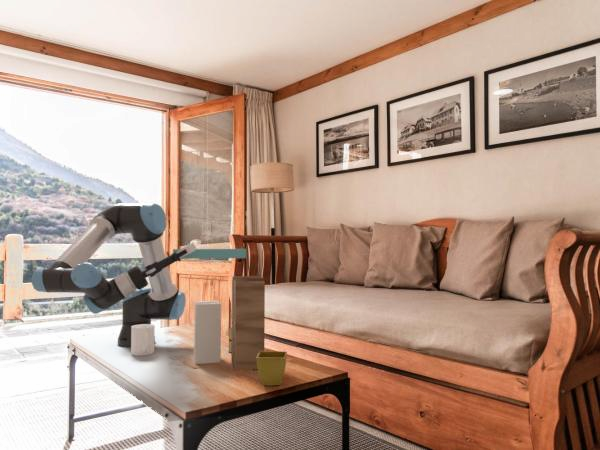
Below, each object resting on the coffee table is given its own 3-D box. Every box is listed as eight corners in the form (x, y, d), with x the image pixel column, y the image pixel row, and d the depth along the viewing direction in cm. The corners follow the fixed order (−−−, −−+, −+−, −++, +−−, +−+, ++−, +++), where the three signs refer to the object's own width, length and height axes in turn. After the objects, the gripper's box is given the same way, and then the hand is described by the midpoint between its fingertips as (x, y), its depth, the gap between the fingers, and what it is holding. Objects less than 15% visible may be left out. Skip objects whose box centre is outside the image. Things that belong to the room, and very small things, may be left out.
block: (172, 258, 161) (173, 249, 161) (244, 257, 168) (244, 248, 168) (173, 258, 158) (173, 249, 158) (246, 258, 165) (246, 248, 165)
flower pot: (259, 379, 148) (259, 350, 148) (286, 379, 148) (287, 351, 148) (255, 388, 139) (256, 357, 140) (285, 388, 139) (285, 357, 139)
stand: (231, 363, 167) (232, 276, 168) (258, 361, 170) (259, 275, 171) (235, 371, 157) (235, 278, 159) (264, 369, 160) (264, 277, 161)
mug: (134, 359, 174) (135, 330, 174) (129, 352, 184) (129, 325, 184) (158, 356, 178) (158, 328, 178) (151, 350, 188) (151, 323, 189)
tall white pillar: (194, 358, 174) (194, 301, 175) (218, 357, 177) (218, 300, 178) (195, 364, 167) (195, 304, 167) (220, 362, 169) (221, 303, 170)
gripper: (139, 288, 164) (198, 254, 170) (136, 293, 149) (202, 255, 155) (128, 270, 163) (188, 236, 169) (124, 273, 148) (190, 236, 154)
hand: (194, 245), depth 162 cm, fingers closed on block, 3 cm apart
